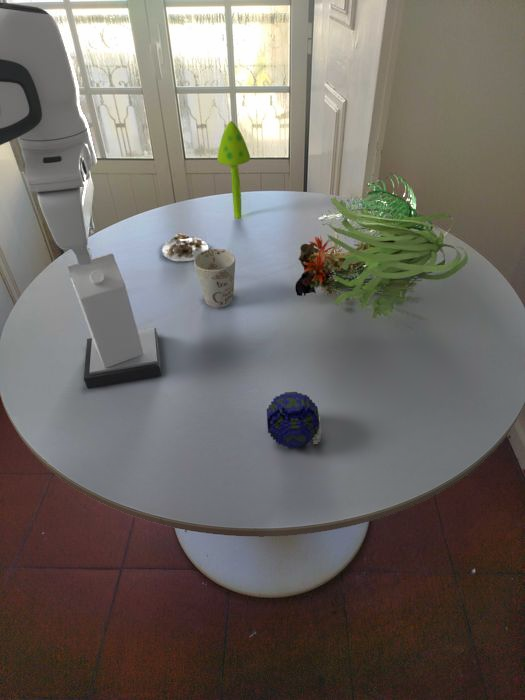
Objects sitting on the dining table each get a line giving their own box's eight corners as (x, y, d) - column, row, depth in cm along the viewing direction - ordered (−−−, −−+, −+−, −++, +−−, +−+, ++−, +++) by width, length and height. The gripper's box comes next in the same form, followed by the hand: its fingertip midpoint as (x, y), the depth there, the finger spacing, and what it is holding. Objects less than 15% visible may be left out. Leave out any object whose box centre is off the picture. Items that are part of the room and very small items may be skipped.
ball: (315, 414, 77) (317, 382, 71) (322, 453, 71) (325, 421, 66) (266, 417, 76) (265, 385, 71) (269, 456, 71) (268, 424, 66)
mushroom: (221, 224, 127) (211, 126, 110) (224, 210, 133) (215, 115, 116) (252, 224, 126) (247, 125, 110) (253, 210, 133) (249, 115, 116)
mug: (203, 314, 97) (197, 273, 91) (193, 282, 106) (187, 242, 100) (242, 307, 99) (239, 266, 92) (229, 275, 108) (225, 236, 101)
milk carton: (94, 345, 86) (62, 255, 74) (132, 333, 89) (106, 243, 76) (105, 369, 82) (72, 277, 69) (144, 354, 84) (119, 263, 71)
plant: (337, 214, 114) (489, 174, 90) (339, 339, 113) (493, 332, 89) (249, 180, 92) (420, 114, 68) (250, 335, 91) (424, 324, 67)
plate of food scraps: (202, 263, 112) (200, 249, 110) (154, 260, 114) (151, 246, 111) (214, 240, 121) (212, 226, 118) (169, 237, 122) (167, 224, 120)
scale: (86, 388, 83) (81, 376, 80) (89, 348, 91) (85, 336, 88) (161, 375, 84) (158, 363, 82) (158, 337, 92) (155, 325, 90)
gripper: (44, 131, 69) (71, 218, 78) (22, 185, 54) (59, 285, 63) (88, 127, 70) (110, 214, 79) (79, 179, 55) (107, 278, 64)
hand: (87, 246), depth 71 cm, fingers open, 8 cm apart
